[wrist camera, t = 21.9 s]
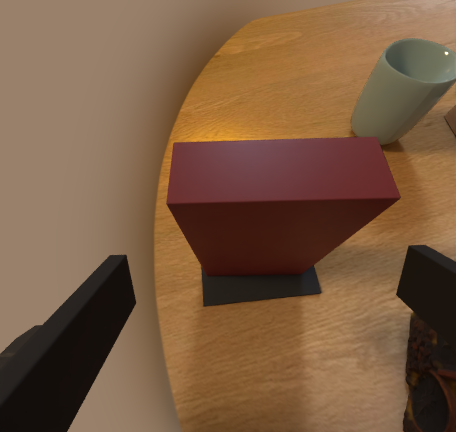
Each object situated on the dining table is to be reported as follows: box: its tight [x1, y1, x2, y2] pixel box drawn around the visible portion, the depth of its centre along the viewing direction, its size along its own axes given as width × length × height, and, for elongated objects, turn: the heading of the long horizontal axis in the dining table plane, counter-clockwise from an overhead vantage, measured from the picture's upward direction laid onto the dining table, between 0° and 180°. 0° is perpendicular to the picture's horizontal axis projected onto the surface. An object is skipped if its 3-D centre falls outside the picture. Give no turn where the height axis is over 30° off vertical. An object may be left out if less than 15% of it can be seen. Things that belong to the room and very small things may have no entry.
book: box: [166, 137, 401, 276], centre depth 18 cm, size 10×4×16 cm, turn 91°
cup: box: [351, 38, 456, 145], centre depth 28 cm, size 8×8×10 cm
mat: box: [202, 265, 321, 306], centre depth 28 cm, size 20×12×1 cm, turn 6°
